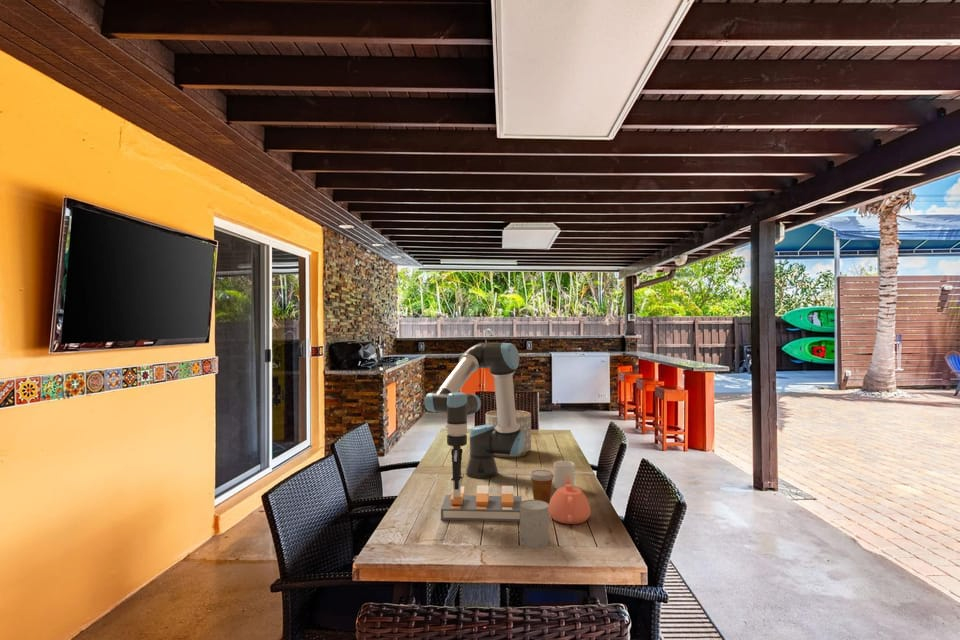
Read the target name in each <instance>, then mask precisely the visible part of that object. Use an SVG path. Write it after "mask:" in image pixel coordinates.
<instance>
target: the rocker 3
mask: <svg viewBox="0 0 960 640" xmlns="http://www.w3.org/2000/svg"><path fill="white" fill-rule="evenodd" d="M500 496H501V507H514V501H513V496H514V486H513V485H502V486H501V495H500Z"/></svg>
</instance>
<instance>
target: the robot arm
mask: <svg viewBox="0 0 960 640" xmlns="http://www.w3.org/2000/svg"><path fill="white" fill-rule="evenodd" d="M519 365H520V355H519V351H518V349H517V347H516V345H515V344H513V343H510V342H479V343H477V344H475V345H472V346H470V347H469V348H468V349H467V350H465V351H464V352H463V353H462V354H461V356H460V357H459V358H458V364H457V365H456V366H455V367H454V369H453V370H452V371H451V373H450V374H449V375H448V376H447V377H446V378H445V380H444V381H443V382H442V384H441V385H440V387H439V388H438V389H437V390H436V392H428V393H426V395H425V398H424V400H423V401H424V402H423V403H424V408H425V409H426V410H427V411H428V412H434V413H442V414H443V413H446V419H447V421H446V425H445V429H446V428H447V429H446V432H447V435H446V444H447V446H449V447H453V448H452V449H451V452H450V455H451V462H452V464H451V466H452V478H451V480H450V481H452V490H453V498H460V497H461V486H462V485H461V482H462V481H461V479H463V476H462V459H463V448H461V447H463V446H466V445H467V443H468V435H467V433H468V416H469V415H473V414H475V413H476V412H478V411H479V410H480V408H481V406H482V401H481V399H480V397H479V396H478V395H476V394H474V393H471V394H470V393H468V394H467V393H466V392H460V391H461V390H462V388H463V387H464V385H465V384H466V383H467V381H468V380H469V379H470V377H471V375H472V374H473V373H475V372H476V371H478V370H479V369H483V368H484V369H489V371H490V372H489V373H490V375H491V376H493V383H494V393H495V406H496V410H497V418H498V425H497V426H496V427H495V429H494V425H486V424H481V425H475V426H472V427H471V428H470V430H469V459H468V460H469V461H468V464H467V467H466V469H465V471H466V472H465V473H466V475H467V476H468V477H470V478H474V479H489V478H495V477H496V476H498V473H499V472H498V471H499V470H498V467H497V464H496V463H497V462H496V460H495V456H494V454H502V455H510V456H518V455H520V454H521V452H522V450H523V447H524V443H525V433H524V431H520V426H519V424H517V423H516V413H515V410H516V405H515V404H516V401H515V387H514V379H513V377H514V376H513V375H514V374H515V373H516V370H517V368H518V367H519Z"/></svg>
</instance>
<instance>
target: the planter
mask: <svg viewBox="0 0 960 640" xmlns="http://www.w3.org/2000/svg"><path fill="white" fill-rule="evenodd" d="M515 413H516V423H517V424H519V426H520V431H524V433H525V443H524V447H523V450H522V452H521V454H520V455H518V456H510V455H502V454H494V457H499V458H519V457H524V456H526V455H527V452H529V451H531V449H532V413H531V412H529V411H526V410H521V409H519V410H518V409H515ZM485 425H494V429H495V427H496V426H497V425H498V418H497V409H496V410H490V411H487V412H486V413H485Z"/></svg>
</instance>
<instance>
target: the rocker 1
mask: <svg viewBox="0 0 960 640" xmlns="http://www.w3.org/2000/svg"><path fill="white" fill-rule="evenodd" d="M465 489H466V488H465V486H462V485H461V497H460V498H453V489H452V490H451V493H450V495H451V499H450V502H451V504H462V505H463V499H464V495H465V493H466V492H465Z"/></svg>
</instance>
